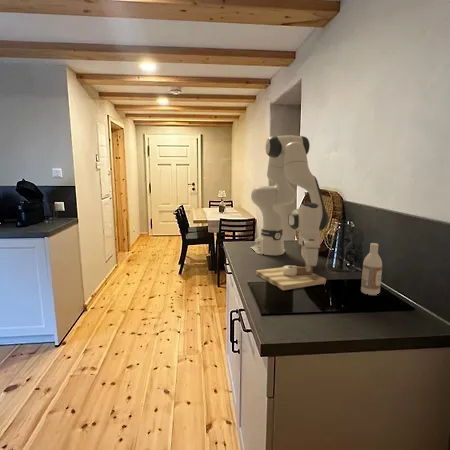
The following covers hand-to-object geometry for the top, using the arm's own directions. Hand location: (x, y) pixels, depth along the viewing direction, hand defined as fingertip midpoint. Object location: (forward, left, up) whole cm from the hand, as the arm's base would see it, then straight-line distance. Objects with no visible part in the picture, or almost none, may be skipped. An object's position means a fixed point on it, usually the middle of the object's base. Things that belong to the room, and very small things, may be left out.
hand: (307, 271), depth 145 cm
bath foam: (+22, +14, -4) cm, 26 cm away
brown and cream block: (-3, -3, -2) cm, 5 cm away
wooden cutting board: (-4, -6, -4) cm, 9 cm away
